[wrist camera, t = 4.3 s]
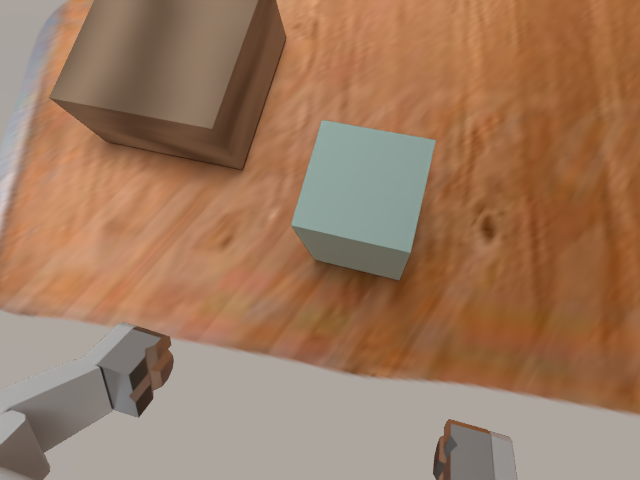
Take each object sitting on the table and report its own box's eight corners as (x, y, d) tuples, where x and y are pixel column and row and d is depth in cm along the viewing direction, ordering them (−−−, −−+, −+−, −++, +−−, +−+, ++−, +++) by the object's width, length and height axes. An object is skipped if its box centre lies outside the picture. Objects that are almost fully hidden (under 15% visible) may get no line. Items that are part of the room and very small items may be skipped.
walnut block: (286, 37, 28) (268, -28, 23) (242, 169, 26) (212, 128, 21) (156, 19, 30) (115, -45, 25) (105, 141, 27) (49, 97, 23)
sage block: (418, 198, 24) (436, 140, 17) (399, 280, 23) (410, 252, 16) (335, 181, 25) (322, 120, 18) (314, 259, 24) (290, 225, 17)
